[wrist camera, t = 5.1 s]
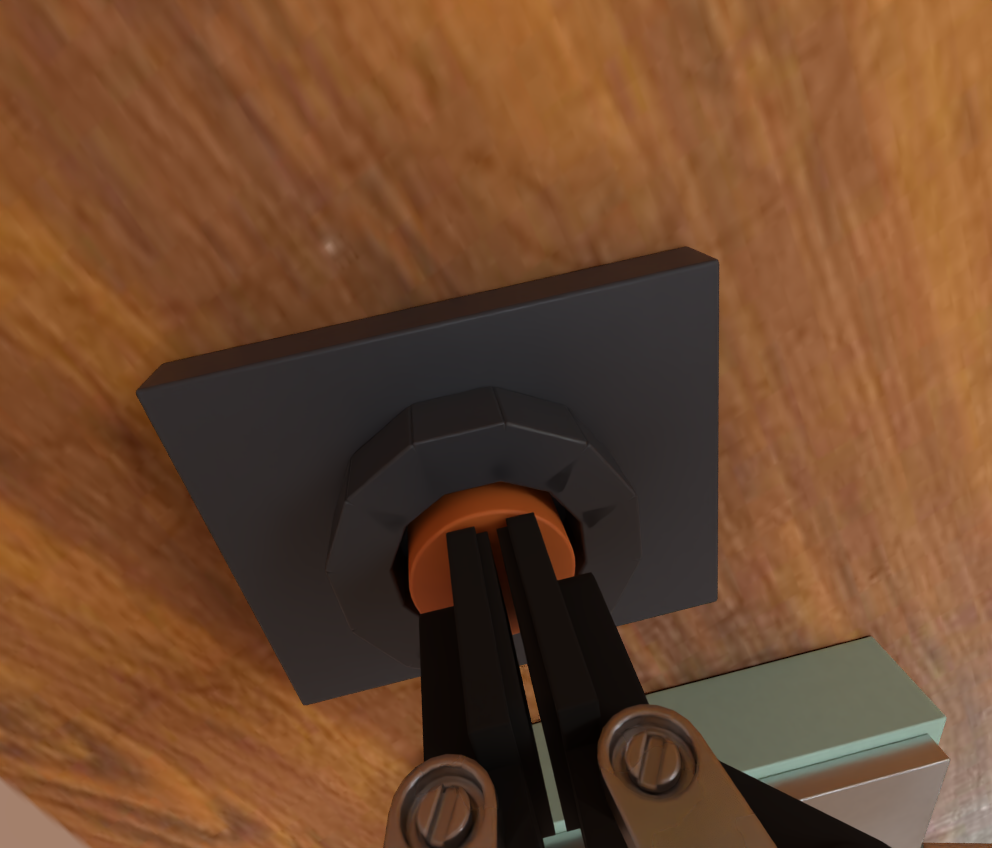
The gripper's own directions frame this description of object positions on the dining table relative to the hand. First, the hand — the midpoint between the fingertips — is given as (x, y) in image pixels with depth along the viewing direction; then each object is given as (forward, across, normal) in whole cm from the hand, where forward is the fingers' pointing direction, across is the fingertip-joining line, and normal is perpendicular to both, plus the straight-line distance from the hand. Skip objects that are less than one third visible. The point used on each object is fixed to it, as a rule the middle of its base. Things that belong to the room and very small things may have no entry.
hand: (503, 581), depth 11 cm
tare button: (+2, 0, 0) cm, 2 cm away
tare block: (+3, 0, 0) cm, 3 cm away
